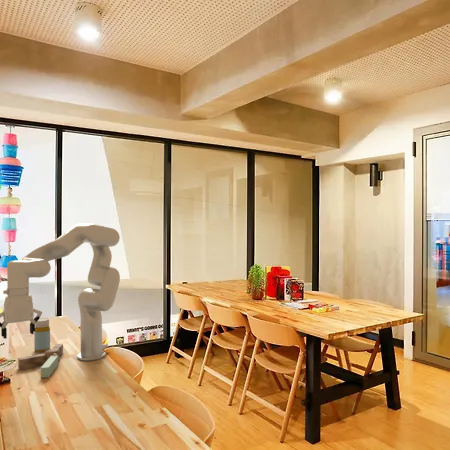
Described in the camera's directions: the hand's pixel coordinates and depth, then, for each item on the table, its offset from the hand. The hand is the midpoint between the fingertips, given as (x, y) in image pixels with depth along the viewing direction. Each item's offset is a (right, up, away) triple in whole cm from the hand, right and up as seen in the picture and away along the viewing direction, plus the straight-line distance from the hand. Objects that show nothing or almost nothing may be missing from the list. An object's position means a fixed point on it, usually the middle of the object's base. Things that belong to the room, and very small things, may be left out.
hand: (18, 335), depth 162 cm
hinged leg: (+7, -18, +12) cm, 23 cm away
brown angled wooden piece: (+1, -18, +24) cm, 30 cm away
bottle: (-9, -18, +40) cm, 45 cm away
